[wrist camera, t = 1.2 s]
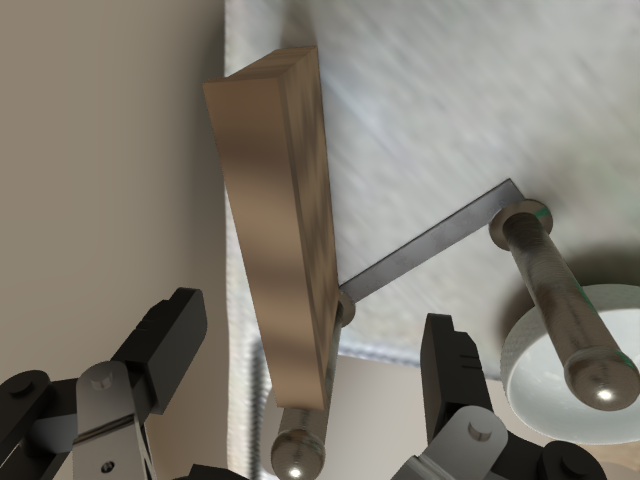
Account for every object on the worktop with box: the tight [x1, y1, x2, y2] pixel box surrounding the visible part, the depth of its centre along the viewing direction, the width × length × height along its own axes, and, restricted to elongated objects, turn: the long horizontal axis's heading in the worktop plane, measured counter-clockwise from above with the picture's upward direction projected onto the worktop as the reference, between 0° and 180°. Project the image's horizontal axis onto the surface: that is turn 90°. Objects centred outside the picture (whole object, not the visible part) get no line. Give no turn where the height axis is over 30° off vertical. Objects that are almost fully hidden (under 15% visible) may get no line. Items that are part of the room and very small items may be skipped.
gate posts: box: [271, 179, 640, 480], centre depth 31 cm, size 7×26×18 cm, turn 128°
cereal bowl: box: [500, 284, 640, 445], centre depth 37 cm, size 17×17×7 cm
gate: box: [202, 46, 339, 410], centre depth 30 cm, size 23×4×13 cm, turn 6°
